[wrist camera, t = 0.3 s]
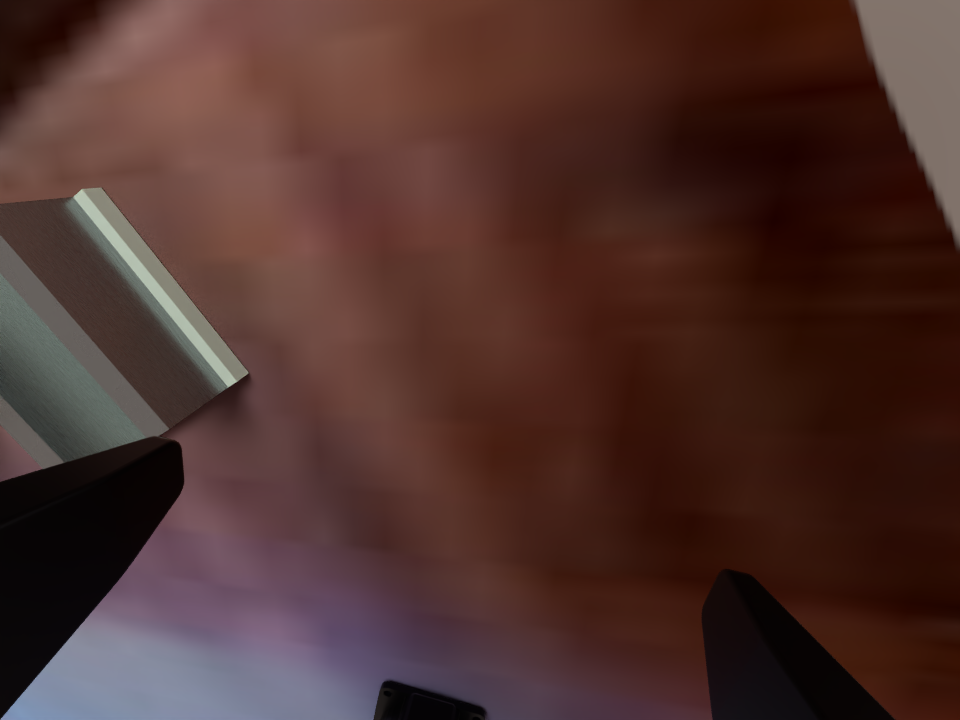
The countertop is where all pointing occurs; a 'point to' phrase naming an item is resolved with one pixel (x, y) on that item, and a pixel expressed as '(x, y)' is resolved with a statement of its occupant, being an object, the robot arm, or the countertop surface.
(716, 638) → the robot arm
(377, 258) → the countertop surface
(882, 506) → the countertop surface
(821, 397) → the countertop surface
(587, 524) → the countertop surface
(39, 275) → the grey channel bracket
